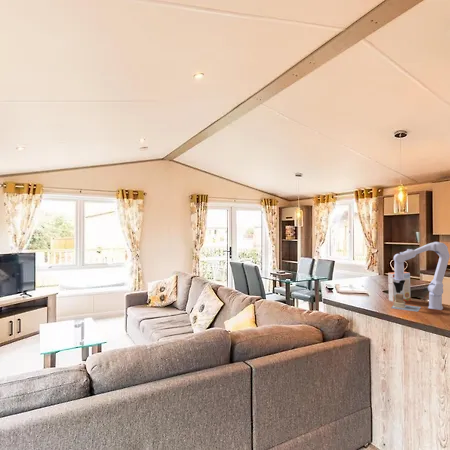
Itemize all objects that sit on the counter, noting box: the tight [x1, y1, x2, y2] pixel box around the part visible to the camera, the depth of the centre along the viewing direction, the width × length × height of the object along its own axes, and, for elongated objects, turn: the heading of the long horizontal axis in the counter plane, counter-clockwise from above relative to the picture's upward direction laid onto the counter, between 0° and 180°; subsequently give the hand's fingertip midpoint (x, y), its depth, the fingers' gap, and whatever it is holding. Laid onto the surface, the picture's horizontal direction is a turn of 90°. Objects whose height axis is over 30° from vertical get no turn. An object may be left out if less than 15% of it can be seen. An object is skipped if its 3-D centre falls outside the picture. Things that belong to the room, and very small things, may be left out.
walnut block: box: [396, 294, 403, 303], centre depth 226 cm, size 4×4×5 cm
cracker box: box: [387, 271, 412, 303], centre depth 242 cm, size 14×6×21 cm, turn 100°
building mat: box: [390, 304, 422, 313], centre depth 223 cm, size 14×16×1 cm
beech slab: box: [393, 301, 406, 308], centre depth 226 cm, size 6×6×3 cm
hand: (399, 291), depth 226 cm, fingers open, 7 cm apart
